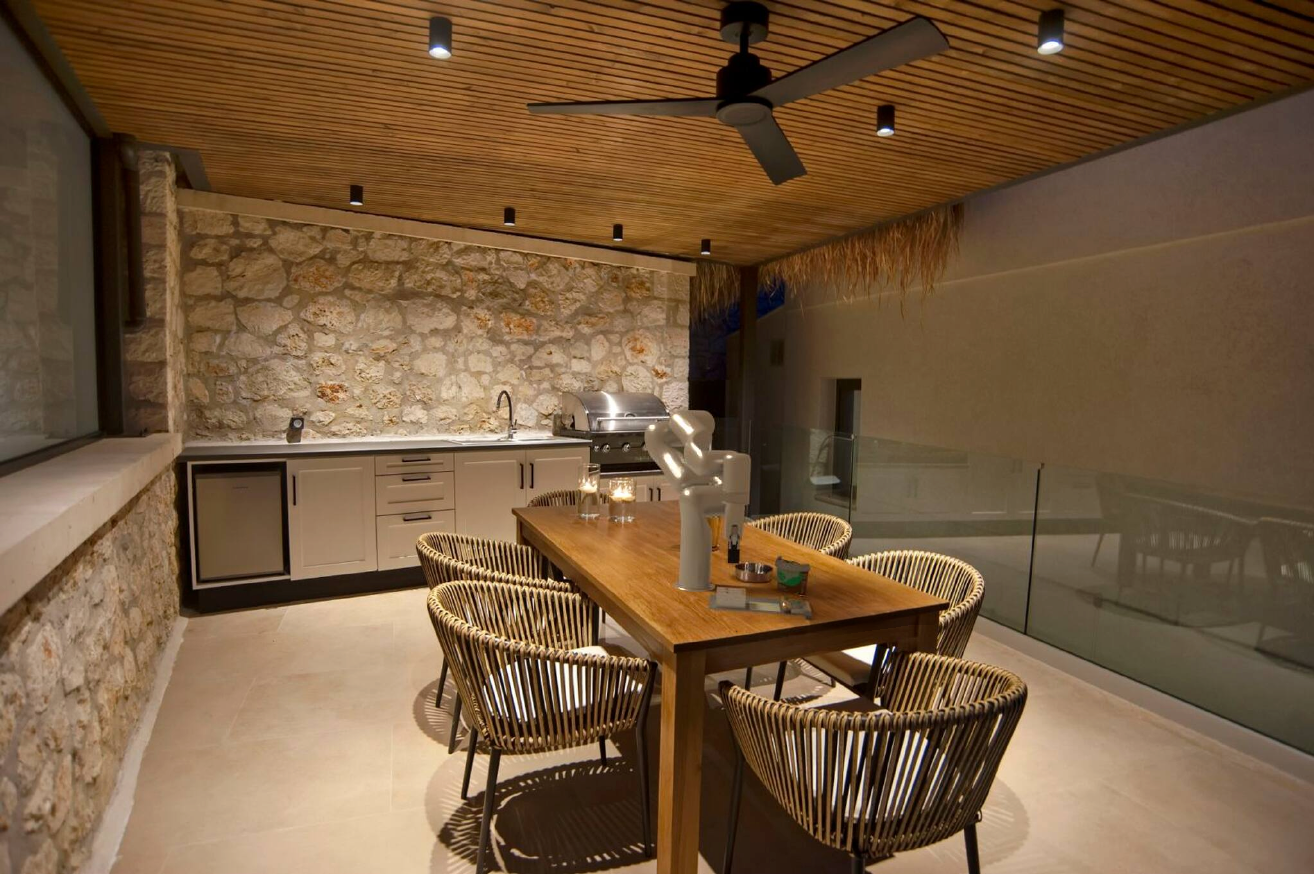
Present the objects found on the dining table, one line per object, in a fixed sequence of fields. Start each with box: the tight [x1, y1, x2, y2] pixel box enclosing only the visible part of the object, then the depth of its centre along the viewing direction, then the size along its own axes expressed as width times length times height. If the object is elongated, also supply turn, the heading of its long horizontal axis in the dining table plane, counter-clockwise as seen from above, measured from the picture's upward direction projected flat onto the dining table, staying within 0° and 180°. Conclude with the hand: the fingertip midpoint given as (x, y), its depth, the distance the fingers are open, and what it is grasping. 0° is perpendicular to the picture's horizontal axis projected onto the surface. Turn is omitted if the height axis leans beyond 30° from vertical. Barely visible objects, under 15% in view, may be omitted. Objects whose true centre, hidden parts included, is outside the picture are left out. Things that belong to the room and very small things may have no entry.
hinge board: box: [707, 593, 813, 621], centre depth 198 cm, size 14×28×1 cm, turn 84°
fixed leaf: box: [780, 595, 812, 615], centre depth 195 cm, size 10×8×2 cm
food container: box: [774, 555, 811, 597], centre depth 214 cm, size 12×6×10 cm, turn 37°
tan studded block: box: [715, 586, 747, 609], centre depth 197 cm, size 6×8×4 cm
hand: (733, 559), depth 196 cm, fingers open, 9 cm apart
